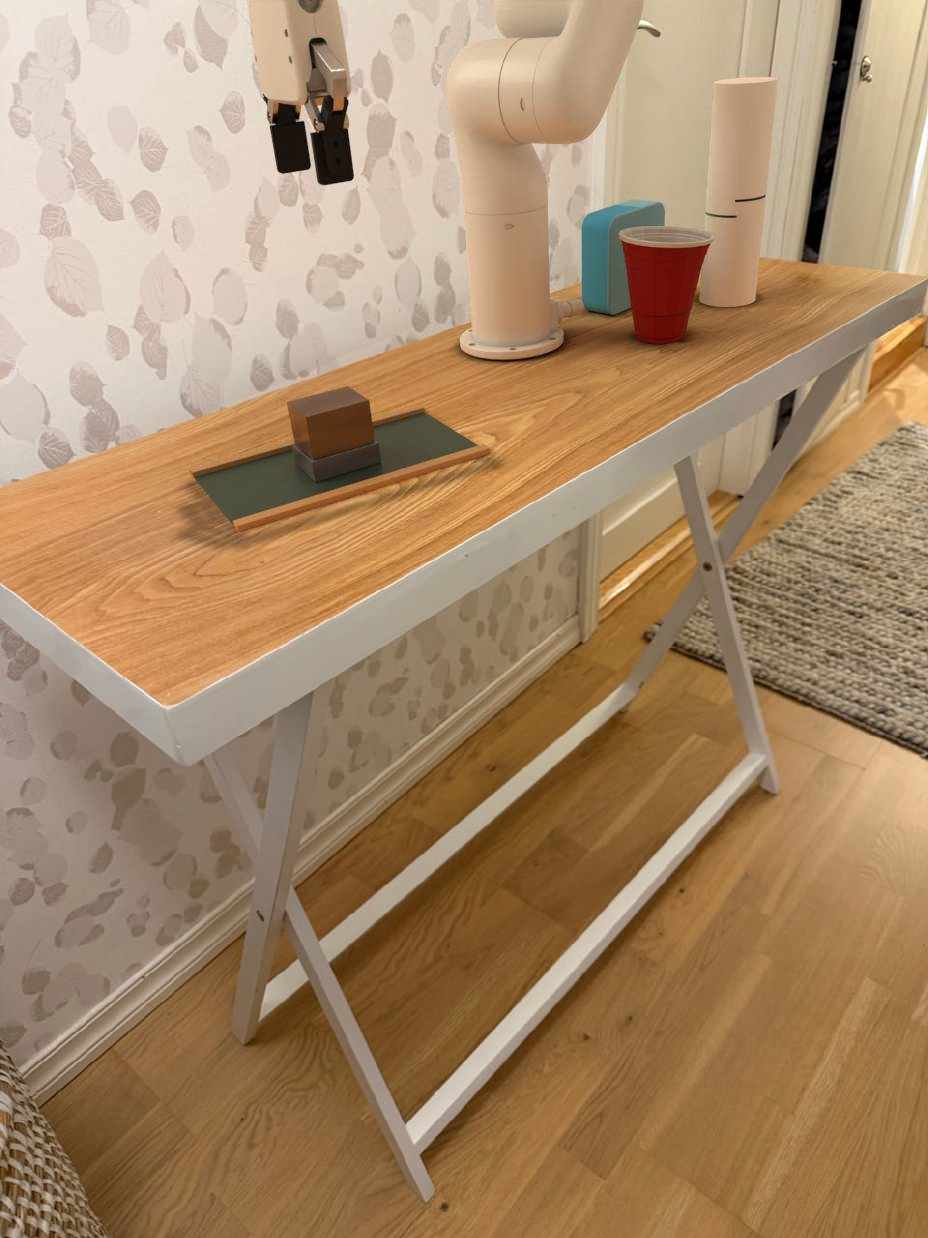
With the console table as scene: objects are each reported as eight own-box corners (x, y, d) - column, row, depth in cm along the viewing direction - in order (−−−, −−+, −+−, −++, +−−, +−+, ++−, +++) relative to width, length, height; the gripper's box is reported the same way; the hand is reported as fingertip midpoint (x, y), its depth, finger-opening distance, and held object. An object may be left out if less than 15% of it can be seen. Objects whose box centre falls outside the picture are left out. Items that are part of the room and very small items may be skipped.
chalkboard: (420, 419, 95) (418, 403, 94) (491, 464, 85) (490, 447, 84) (193, 484, 86) (188, 467, 85) (241, 544, 76) (236, 525, 75)
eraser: (294, 464, 85) (282, 401, 82) (358, 445, 88) (349, 384, 84) (315, 482, 82) (304, 418, 78) (381, 462, 84) (373, 399, 81)
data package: (634, 290, 128) (637, 196, 122) (662, 294, 126) (666, 199, 119) (580, 312, 121) (580, 215, 115) (608, 318, 119) (610, 218, 112)
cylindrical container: (761, 304, 119) (785, 80, 105) (705, 308, 119) (721, 85, 105) (748, 289, 125) (769, 75, 111) (694, 293, 125) (708, 80, 111)
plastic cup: (726, 340, 108) (735, 231, 102) (644, 356, 106) (648, 246, 99) (677, 317, 117) (682, 215, 110) (600, 332, 114) (601, 228, 108)
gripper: (368, -73, 68) (395, 180, 78) (284, -54, 81) (316, 161, 91) (272, -68, 65) (312, 194, 75) (201, -49, 78) (243, 173, 88)
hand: (314, 176), depth 83 cm, fingers open, 9 cm apart
